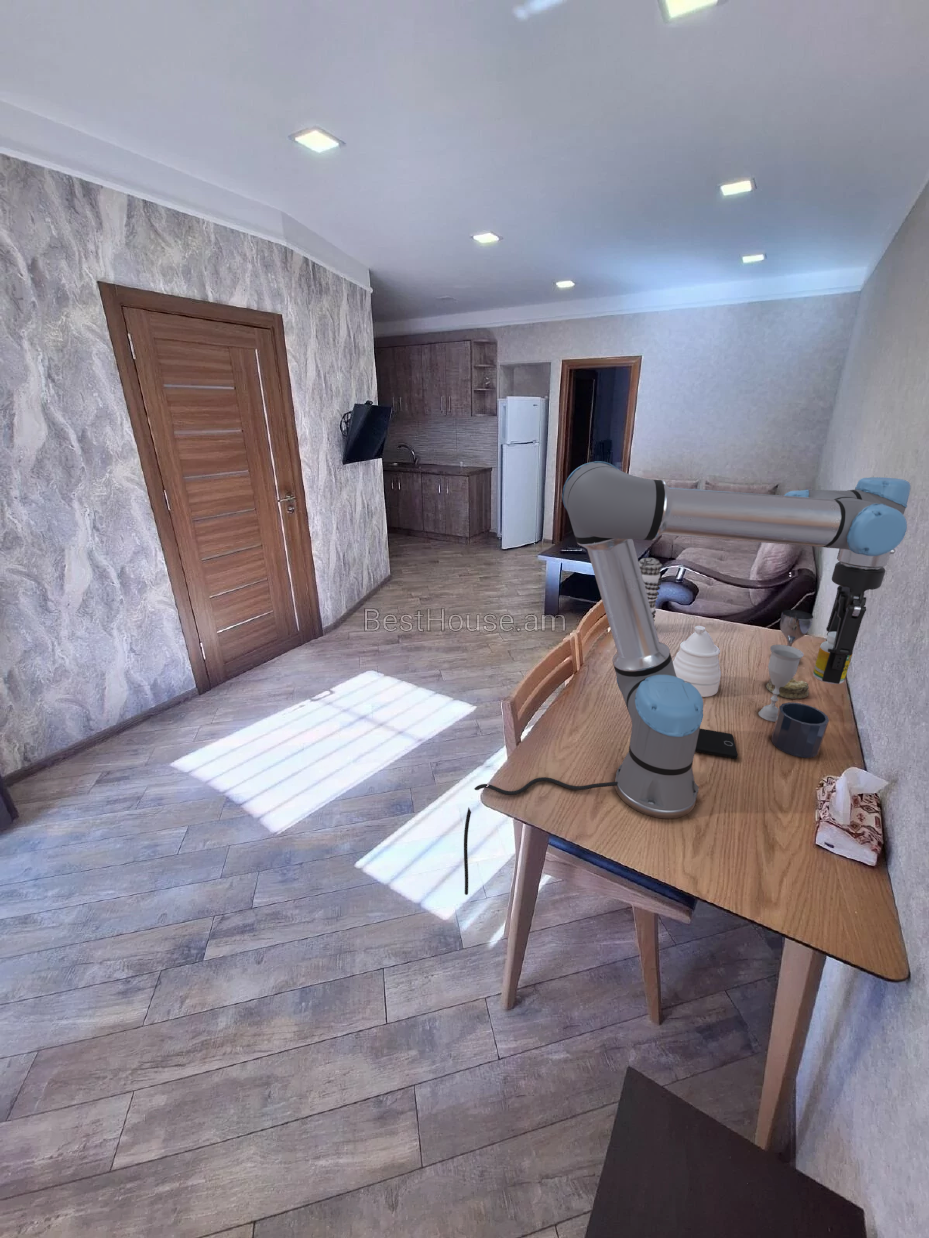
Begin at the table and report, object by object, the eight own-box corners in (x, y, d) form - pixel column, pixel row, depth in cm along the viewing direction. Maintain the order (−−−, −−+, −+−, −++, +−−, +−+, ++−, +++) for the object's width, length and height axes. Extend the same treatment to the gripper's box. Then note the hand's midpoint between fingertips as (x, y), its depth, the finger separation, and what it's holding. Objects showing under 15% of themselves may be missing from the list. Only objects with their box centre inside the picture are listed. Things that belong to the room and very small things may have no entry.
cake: (792, 704, 131) (795, 687, 129) (757, 688, 139) (760, 671, 137) (817, 693, 134) (821, 676, 132) (781, 678, 143) (785, 661, 141)
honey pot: (704, 702, 132) (717, 639, 125) (659, 684, 141) (668, 625, 134) (725, 685, 139) (738, 626, 133) (681, 669, 148) (691, 613, 142)
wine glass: (801, 657, 155) (813, 612, 149) (800, 667, 149) (813, 621, 143) (771, 651, 159) (782, 607, 153) (770, 661, 153) (781, 616, 147)
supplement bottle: (825, 670, 105) (837, 628, 101) (850, 682, 100) (864, 638, 97) (805, 674, 103) (817, 632, 100) (830, 686, 99) (844, 642, 95)
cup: (797, 761, 109) (807, 728, 106) (761, 737, 117) (769, 706, 114) (828, 752, 112) (838, 720, 108) (791, 730, 120) (800, 699, 116)
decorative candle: (636, 620, 184) (644, 554, 174) (659, 628, 177) (669, 559, 168) (621, 627, 178) (629, 559, 169) (645, 635, 172) (655, 564, 162)
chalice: (790, 725, 121) (809, 659, 115) (760, 722, 123) (776, 656, 116) (779, 709, 128) (796, 645, 121) (750, 706, 129) (765, 643, 123)
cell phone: (737, 759, 109) (738, 756, 109) (650, 744, 115) (650, 740, 114) (731, 737, 117) (732, 733, 117) (650, 723, 122) (650, 720, 122)
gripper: (898, 580, 84) (859, 700, 92) (875, 554, 99) (843, 660, 107) (844, 575, 87) (811, 691, 96) (829, 550, 102) (802, 653, 111)
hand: (828, 674), depth 102 cm, fingers closed on supplement bottle, 5 cm apart
